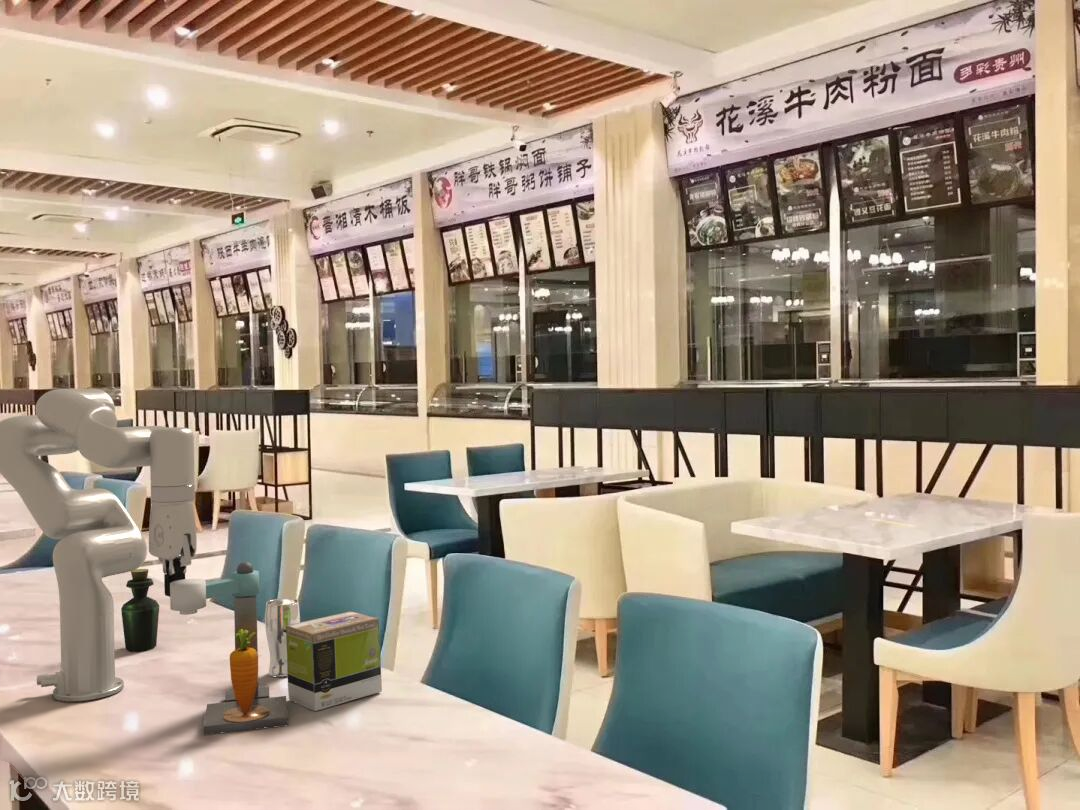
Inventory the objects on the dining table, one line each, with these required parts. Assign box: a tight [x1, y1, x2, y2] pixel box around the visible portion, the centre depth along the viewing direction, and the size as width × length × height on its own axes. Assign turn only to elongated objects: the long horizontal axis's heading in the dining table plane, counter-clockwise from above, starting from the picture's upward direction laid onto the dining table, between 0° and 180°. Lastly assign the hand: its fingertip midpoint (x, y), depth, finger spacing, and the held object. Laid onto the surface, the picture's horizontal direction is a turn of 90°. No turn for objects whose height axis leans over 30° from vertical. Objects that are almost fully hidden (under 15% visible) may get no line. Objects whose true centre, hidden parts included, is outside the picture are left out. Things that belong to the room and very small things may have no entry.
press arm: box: [169, 561, 260, 616], centre depth 171 cm, size 18×6×7 cm, turn 143°
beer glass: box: [264, 597, 301, 678], centre depth 194 cm, size 7×7×15 cm
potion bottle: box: [120, 568, 160, 653], centre depth 215 cm, size 8×8×18 cm
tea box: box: [286, 611, 383, 712], centre depth 178 cm, size 15×10×15 cm, turn 134°
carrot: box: [229, 629, 259, 713], centre depth 165 cm, size 5×5×15 cm
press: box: [202, 594, 289, 735], centre depth 170 cm, size 14×19×20 cm
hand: (175, 594), depth 170 cm, fingers closed
